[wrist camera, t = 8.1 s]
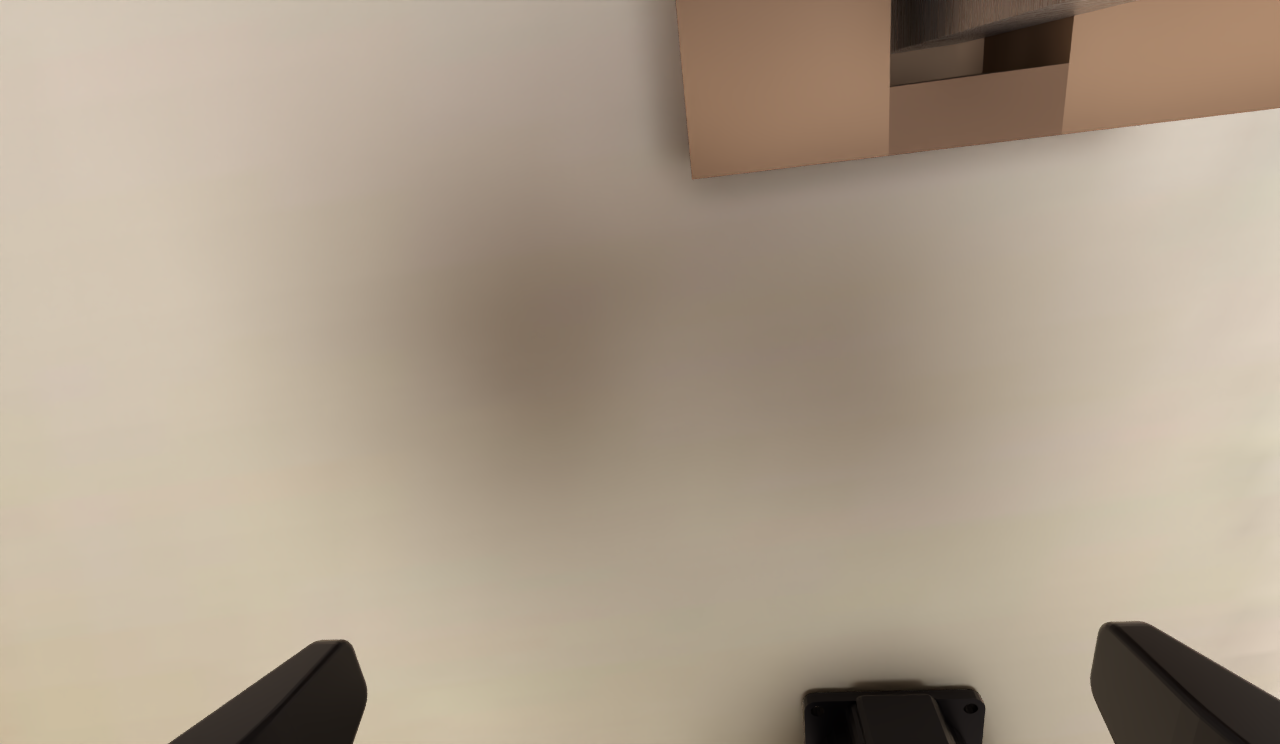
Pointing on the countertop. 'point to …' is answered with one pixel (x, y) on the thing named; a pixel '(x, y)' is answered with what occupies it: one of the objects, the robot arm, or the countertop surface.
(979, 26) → the gray concrete slab
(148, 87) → the countertop surface
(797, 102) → the post block
